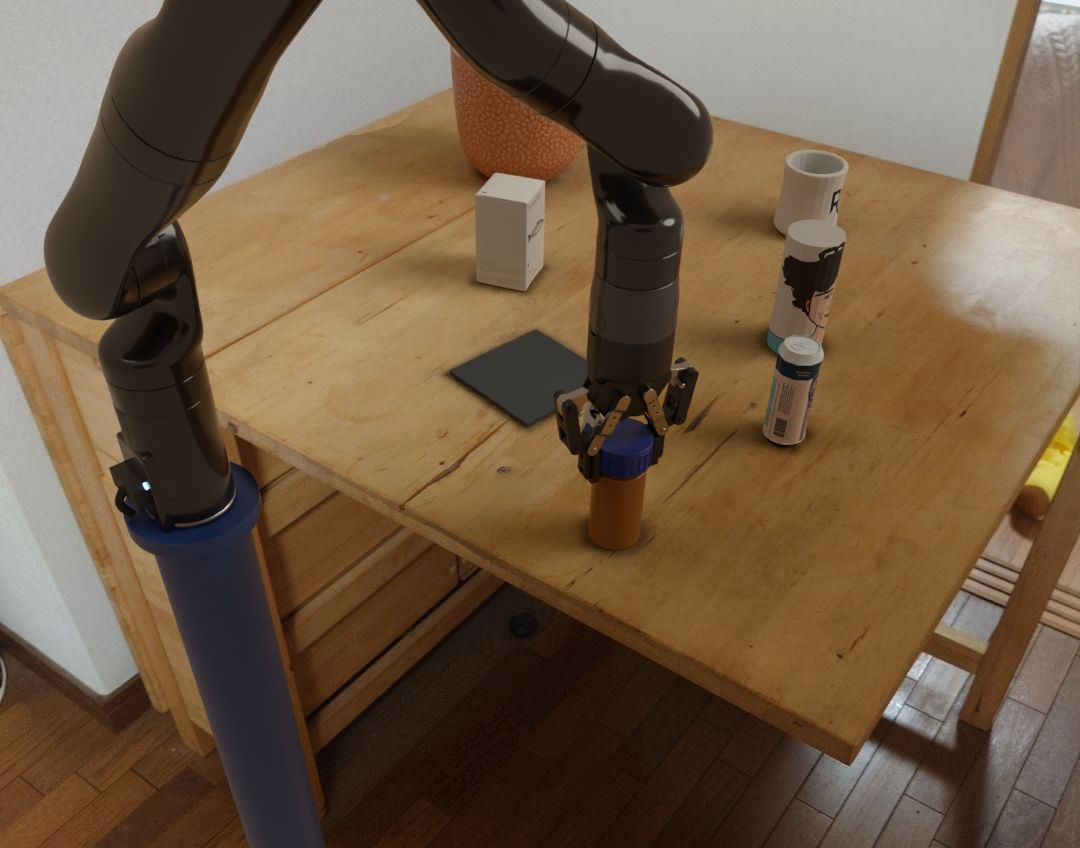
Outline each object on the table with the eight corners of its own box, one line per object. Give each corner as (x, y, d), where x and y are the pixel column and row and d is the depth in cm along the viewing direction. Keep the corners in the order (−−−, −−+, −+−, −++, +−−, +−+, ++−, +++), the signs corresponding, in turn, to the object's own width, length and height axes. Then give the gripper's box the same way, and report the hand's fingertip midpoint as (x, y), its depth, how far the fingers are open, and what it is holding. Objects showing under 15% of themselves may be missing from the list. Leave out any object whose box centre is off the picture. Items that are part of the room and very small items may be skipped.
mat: (526, 428, 121) (526, 423, 120) (449, 374, 128) (449, 370, 128) (614, 381, 128) (614, 376, 127) (536, 332, 135) (536, 328, 135)
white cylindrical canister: (806, 364, 131) (831, 253, 120) (757, 346, 134) (777, 235, 123) (829, 340, 135) (855, 230, 124) (781, 323, 138) (802, 214, 127)
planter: (428, 175, 167) (420, 49, 154) (506, 131, 180) (505, 11, 167) (536, 211, 159) (538, 81, 146) (610, 163, 171) (618, 39, 158)
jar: (614, 557, 105) (622, 468, 98) (577, 531, 108) (582, 441, 100) (650, 534, 108) (661, 445, 100) (613, 508, 111) (621, 419, 103)
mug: (830, 247, 152) (845, 180, 145) (767, 237, 154) (779, 170, 147) (841, 210, 161) (856, 145, 154) (781, 200, 163) (793, 136, 156)
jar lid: (643, 437, 104) (645, 413, 102) (658, 475, 100) (661, 452, 98) (583, 442, 103) (585, 419, 101) (596, 481, 99) (598, 458, 97)
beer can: (812, 444, 119) (833, 353, 111) (773, 451, 118) (792, 360, 110) (792, 419, 123) (812, 329, 114) (754, 426, 121) (772, 335, 113)
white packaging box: (526, 293, 142) (526, 203, 133) (474, 282, 144) (472, 193, 135) (545, 267, 147) (547, 179, 138) (495, 257, 149) (494, 170, 140)
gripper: (682, 279, 96) (664, 429, 107) (537, 313, 91) (535, 466, 103) (728, 320, 91) (704, 472, 102) (577, 358, 86) (570, 513, 98)
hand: (619, 468), depth 102 cm, fingers closed on jar lid, 5 cm apart
